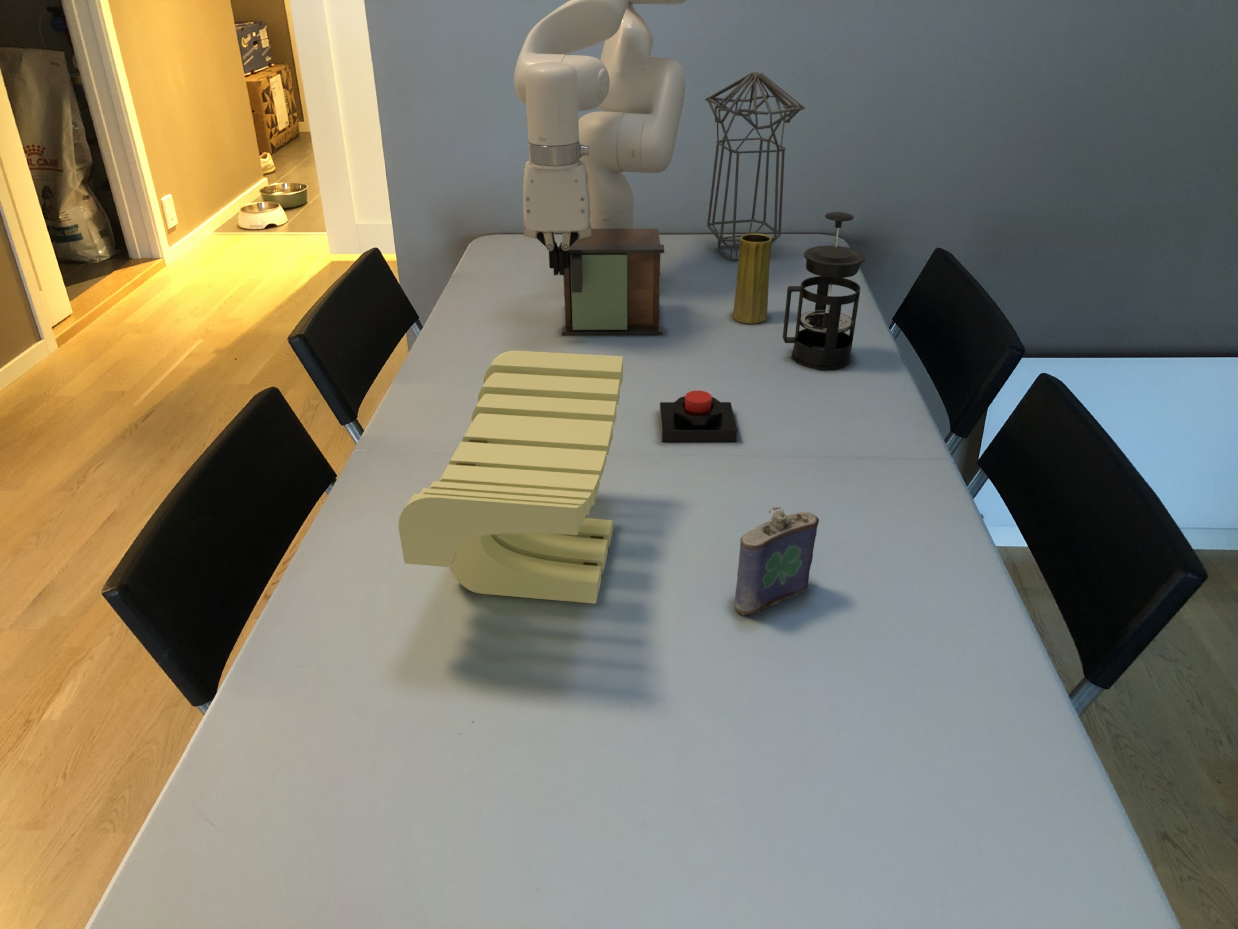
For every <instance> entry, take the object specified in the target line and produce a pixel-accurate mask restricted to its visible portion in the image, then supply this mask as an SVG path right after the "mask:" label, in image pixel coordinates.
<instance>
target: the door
mask: <svg viewBox="0 0 1238 929" xmlns="http://www.w3.org/2000/svg"><path fill="white" fill-rule="evenodd" d="M570 266H571V294H572V322H573V330H627V253H577V254H570Z"/></svg>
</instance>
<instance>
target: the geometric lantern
mask: <svg viewBox="0 0 1238 929" xmlns="http://www.w3.org/2000/svg"><path fill="white" fill-rule="evenodd" d="M757 86H758V88H759V91H760V93H761V95H757V93H758V92H757V90H758V89H757ZM731 89H732V90H731ZM747 89H748V90H747ZM729 90H731V91H730V92H729V93H728V94H727V95H725V97H718V96H720V95H723V93H726V92H728V91H729ZM740 90H741V91H740ZM746 90H747V91H746ZM767 90H768V91H769V92H768V91H767ZM745 92H746V94H745ZM738 93H739V94H738ZM749 93H750V95H749ZM769 93H771V95H770V94H769ZM737 94H738V95H737ZM743 94H745V95H744V97H743V98H742V96H743ZM736 95H737V97H736V98H734V97H735V96H736ZM748 95H749V98H747V97H748ZM770 98H774V99H775V103H776V106H777V109H778V110H773V111H772V109H771V106H770V104H769V101H768V99H770ZM757 100H761V101H760V102H758V103H757ZM705 101H706V102H707V104H708V106H709V108H710V110H711V112H712V114H713V116H714V123H716V139H717V140H716V141H715V143H716V145H715V154H714V161H713V162H714V163H713V171H712V179H711V189H710V196H709V197H710V198H709V204H708V206H709V207H708V214H707V222H706V223H707V224H706V227H707V228H708V229H709V231H710V232H711V233H712V234H713V236H714V237H715V238H716V240H717V248H716V250H717V251H718V252H719V253H721V255H723V256H724V257H726V258H727V259H728V260H729V261H739V257H738V253H739V252H738V251H739V250H740V237H741V236H742V235H743V234H740V235H736V226H737V224H741V223H750V225H749V230H748V233H747V234H750V233H751V232H752V226H753V223H758V224H761V225H759V227H758V228H757V229H756V230H755V232H754V233H759V231H760V230H761V229H762V228H763V226H765V227H767V228H768V229H770V231H772V232H773V237H771V236H770V237H771V239H772V244H773V243H774V242H775V241H776V240H778V239H779V238H780V237H781V235H782V220H783V218H782V216H783V196H784V177H785V176H784V174H785V155H786V154H785V153H786V150H787V148H786V147H785V146H783V141H784V140H783V139H784V131H785V124H788V123H791V121H792V119H793V118H794V117H795V116H796V115H797V114H798V113H799V112H800V111H803V110H805V109H806V107H805V106H803V104H802V103H800V102H799V101H798V100H796V99H795V98H794V97H793V96H791V95H790V94H789V93H787V92H786V91H785V90H784V89H783V88H782V87H780V86H779V85H778V84H776V83H775V82H774V81H773V80H771V79H770V78H769V77H768V76H766V75H765V74H764V73H763V72H758V71H751V72H750V73H748V74H746V75H745V76H743V77H741V78H739V79H738V80H735V81H734V82H732V83H731V84H729V85H727V86H725V87H724V88H722V89H720V90H718V91H717V92H715V93H713V94H711V95H710V96H707V97H706V98H704V102H705ZM747 102H748V103H749V104H748V108H742V106H743V105H744V103H747ZM728 103H731V105H730V107H728V106H727V105H728ZM739 103H740V105H739ZM752 103H753V109H751V108H752ZM763 104H765V106H766V109H767V111H764V110H758V109H759V108H760V107H761V106H762V105H763ZM714 105H715V106H714ZM738 105H739V107H738ZM781 105H783V106H782V107H781ZM733 108H734V110H733ZM782 108H783V109H782ZM721 112H725V114H724V115H723V117H721ZM730 113H731V114H732V116H731V119H730V121H729V123H728V125H727V128H726V127H725V125H724V122H725V121H726V119H727V118H728V116H729V114H730ZM777 114H778V115H779V117H780V118H778V119H776V120H775V121H773V115H777ZM752 115H754V116H755V118H754V119H755V123H754V121H753V119H752V117H751V116H752ZM758 115H764V116H769V124H765V125H759V124H758V122H759V121H758V120H759V119H758ZM736 116H737V117H742V118H743V119H744V120H745V121H746V122H747V123H748V124H749V125H750V126H752V129H751V130H750V131H749V132H748V133H747V135H746V137H744V138H731V139H730V138H729V136H728V134H729V132H730V129H731V128H732V124H733V122H734V120H735V117H736ZM781 123H782V129H781V137H780V144H779V142H778V139H777V136H776V131H777V130H778V128H779V126H780V125H781ZM719 124H720V126H721V129H722V132H723V137H722V139H719V136H720V135H719ZM774 126H775V127H774ZM764 129H770V131H771V134H770V135H769V137H768V138H765V137H762V135H761V133H760V131H759V130H764ZM754 130H755V132H756V133H757V135H758V137H750V138H749V136H750V135H751V134H752V132H753V131H754ZM772 138H773V140H772ZM740 141H741V143H740V144H739V145H738V146H737V147H736V149H733V148H732V145H731V143H730V142H740ZM745 141H759V148H758V149H759V150H741V151H739V149H740V147H741V146H742V145H743V144H744V143H745ZM764 142H766V143H767V144H766V150H763V144H764ZM725 144H727V146H725ZM771 144H773V145H775V147H776V149H770V146H771ZM720 146H721V149H720ZM719 150H720V156H719ZM725 150H726V151H727V152H729V154H728V161H727V162H728V163H727V171H726V180H725V188H724V189H725V190H724V199H723V207H722V215H721V221H716V213H717V205H718V198H719V192H720V184H721V177H722V168H723V160H724V153H725ZM763 153H766V157H765V158H766V159H765V178H764V180H765V181H764V196H763V197H764V199H763V200H764V201H763V216H762V217H763V219H762V220H759V219H757V218H756V219H755V213H756V207H757V206H756V205H757V198H758V196H757V195H758V188H759V179H760V171H761V160H762V154H763ZM770 153H776V157H775V158H776V160H775V186H774V219H773V226H772V225H770V224H769V223H768V222H767V205H768V187H769V168H770V167H769V165H770ZM780 153H781V162H780ZM733 154H736V157H735V158H736V160H735V177H734V194H733V196H734V197H733V214H732V215H733V216H732V220H725V219H726V212H727V211H726V210H727V202H728V193H729V184H730V175H731V167H732V159H733V158H732V157H733ZM740 154H758V158H757V166H756V167H757V168H756V177H755V183H754V184H755V186H754V195H753V201H752V202H753V203H752V212H751V218H750V219H737V206H738V187H739V168H740ZM718 157H719V158H718ZM718 159H719V163H718ZM718 164H719V165H718ZM717 166H718V171H717ZM779 171H780V184H779ZM716 173H717V180H716ZM715 184H716V188H715ZM779 186H780V187H779ZM714 191H715V192H714ZM714 193H715V195H714ZM714 196H715V197H714ZM713 199H714V203H713ZM778 201H779V202H778ZM778 204H779V207H778ZM778 208H779V209H778ZM712 209H713V210H712ZM712 211H713V212H712ZM711 217H712V220H711ZM726 224H727V225H728V224H732V235H731V236H724V228H725V225H726ZM715 225H720V233H719V232H718V230H717V228H716V226H715ZM727 242H728V243H729V242H730V243H733V244H728V243H727ZM722 244H723V245H722ZM737 246H738V248H737ZM723 248H728V249H729V250H730V254H729V255H727V253H725V252H724V251H723V250H721V249H723ZM734 251H735V255H734V256H735V257H734V258H733V252H734Z"/></svg>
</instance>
